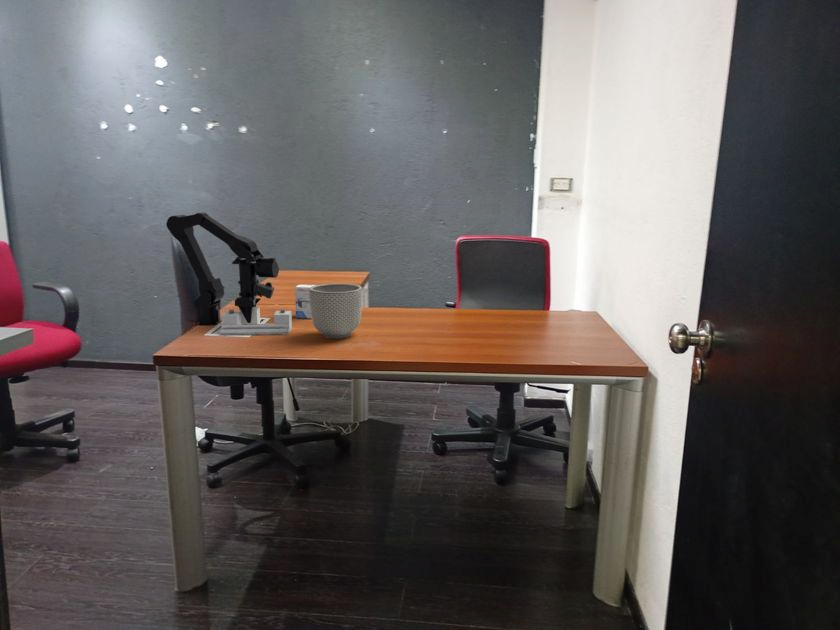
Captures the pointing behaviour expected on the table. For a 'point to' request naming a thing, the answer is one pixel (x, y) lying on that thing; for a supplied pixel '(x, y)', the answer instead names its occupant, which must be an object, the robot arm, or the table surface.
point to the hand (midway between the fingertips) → (250, 321)
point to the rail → (255, 329)
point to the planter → (336, 308)
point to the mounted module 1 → (231, 317)
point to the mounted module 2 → (283, 317)
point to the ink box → (302, 301)
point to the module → (255, 316)
